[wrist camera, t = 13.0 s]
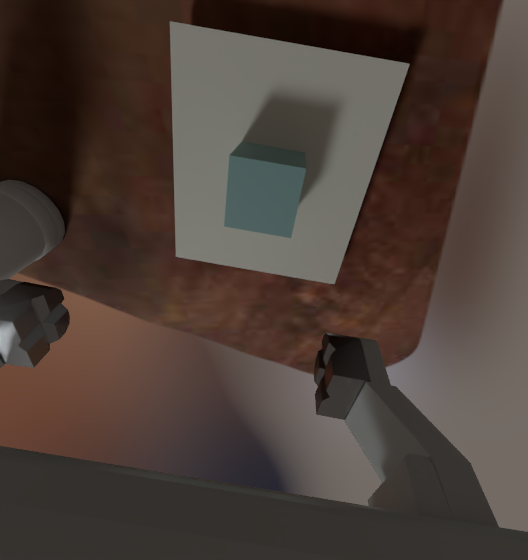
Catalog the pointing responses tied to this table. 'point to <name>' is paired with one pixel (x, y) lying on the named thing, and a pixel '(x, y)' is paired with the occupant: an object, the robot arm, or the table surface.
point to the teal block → (264, 189)
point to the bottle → (26, 226)
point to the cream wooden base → (275, 142)
